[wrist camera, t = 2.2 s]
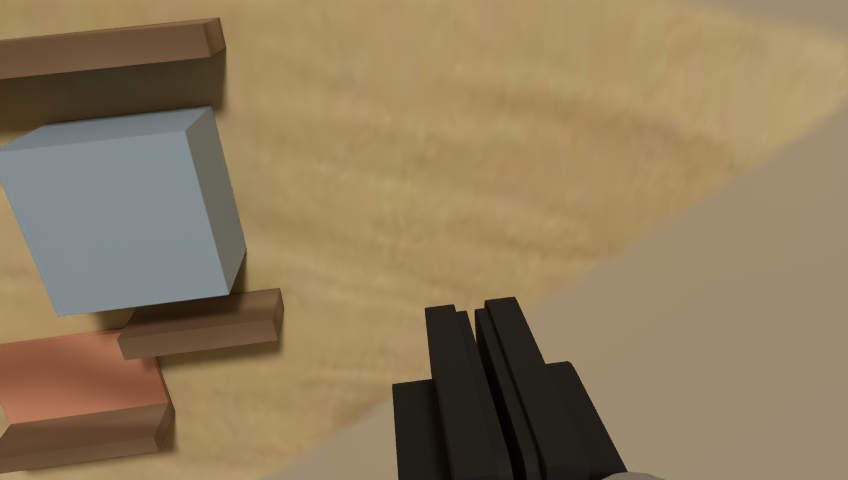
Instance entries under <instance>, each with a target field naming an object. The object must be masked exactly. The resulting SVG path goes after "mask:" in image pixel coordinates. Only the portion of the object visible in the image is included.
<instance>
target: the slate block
mask: <svg viewBox="0 0 848 480" xmlns="http://www.w3.org/2000/svg"><path fill="white" fill-rule="evenodd" d="M0 181H1V184H2V186H3V188H4V191H5V193H6V196H7V198H8V200H9V203H10V205H11V207H12V210H13V212H14V215H15V217H16V219H17V222H18V224H19V226H20V229H21V231H22V233H23V236H24V238H25V241H26V243H27V245H28V248H29V250H30V252H31V255H32V257H33V260H34V262H35V264H36V267H37V269H38V271H39V274H40V276H41V278H42V281H43V283H44V286H45V288H46V290H47V293H48V295H49V297H50V300H51V302H52V305H53V307H54V309H55V312H56V314H57V316H58V317H60V316H67V315H75V314H83V313H91V312H98V311H106V310H114V309H122V308H129V307H137V306H145V305H153V304H160V303H168V302H176V301H183V300H191V299H199V298H207V297H214V296H222V295H229V293H230V291H231V288H232V285H233V283H234V280H235V278H236V275H237V273H238V270H239V267H240V265H241V262H242V260H243V257H244V255H245V252H246V250H247V248H246V243H245V239H244V235H243V231H242V227H241V223H240V219H239V215H238V211H237V207H236V203H235V199H234V194H233V190H232V186H231V182H230V178H229V174H228V170H227V166H226V162H225V158H224V154H223V150H222V146H221V141H220V137H219V133H218V129H217V125H216V121H215V117H214V113H213V109H212V105H209V106H200V107H191V108H182V109H173V110H164V111H156V112H147V113H138V114H129V115H120V116H111V117H102V118H93V119H84V120H75V121H66V122H57V123H48V124H45V125H43V126H41V127H39V128H38V129H36V130H34V131H32V132H30V133H28V134H26V135H24V136H22V137H20V138H18V139H16V140H14V141H12V142H10V143H8V144H6V145H4V146H2V147H0Z"/></svg>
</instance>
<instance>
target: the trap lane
mask: <svg viewBox="0 0 848 480" xmlns="http://www.w3.org/2000/svg"><path fill="white" fill-rule="evenodd" d="M224 48H226V45H225V40H224V36H223V31H222V27H221V22H220V18H212V19H202V20H192V21H182V22H172V23H163V24H153V25H143V26H133V27H124V28H114V29H104V30H94V31H84V32H75V33H65V34H55V35H45V36H36V37H26V38H16V39H6V40H0V79H6V78H15V77H25V76H34V75H44V74H53V73H63V72H72V71H82V70H91V69H101V68H110V67H119V66H129V65H138V64H148V63H157V62H167V61H176V60H186V59H195V58H205V57H211V56H213V55H214V54H216V53H217V52H219V51H221V50H222V49H224ZM283 311H284V305H283V300H282V296H281V291H280V288H276V289H268V290H261V291H253V292H245V293H237V294H229V295H222V296H214V297H207V298H199V299H191V300H183V301H176V302H168V303H160V304H153V305H145V306H138V307H137V309H136V311H135V312H134V314H133V315H132V317H131V318H130V320H129V321H128V323H127V325H126V326H125V328H124V329H116V330H108V331H101V332H93V333H85V334H77V335H70V336H62V337H54V338H47V339H39V340H31V341H23V342H16V343H8V344H0V403H1V405H2V407H3V409H4V411H5V413H6V415H7V417H8V419H9V421H10V423H11V425H10V426H9V427H8V429H7V430H6V431H5V433H4V434H3V435H2V437H1V438H0V474H1V473H8V472H15V471H22V470H29V469H37V468H44V467H51V466H58V465H65V464H72V463H79V462H86V461H93V460H100V459H108V458H115V457H122V456H129V455H136V454H143V453H150V452H157V451H159V449H160V447H161V445H162V442H163V440H164V437H165V435H166V432H167V430H168V428H169V425H170V423H171V420H172V418H173V415H174V413H175V410H174V407H173V405H172V402H171V399H170V396H169V393H168V390H167V387H166V384H165V381H164V379H163V376H162V373H161V370H160V367H159V364H158V361H157V358H156V356H163V355H170V354H178V353H185V352H193V351H200V350H208V349H216V348H223V347H231V346H238V345H246V344H253V343H261V342H269V341H276V340H277V339H278V334H279V330H280V325H281V320H282V316H283Z"/></svg>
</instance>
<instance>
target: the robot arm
mask: <svg viewBox="0 0 848 480" xmlns="http://www.w3.org/2000/svg"><path fill="white" fill-rule="evenodd" d="M425 317H426V327H427V336H428V346H429V356H430V365H431V375H432V379H429V380H420V381H413V382H405V383H397V384H392V390H393V404H394V405H393V406H394V419H395V420H394V421H395V434H396V449H397V465H398V480H664V479H662V478H659V477H655V476H653V475H650V474H646V473H637V472H628V471H627V469H626V467H625V465H624V463H623V461H622V460H621V458H620V456H619V454H618V452H617V450H616V448H615V446H614V444H613V442H612V440H611V438H610V436H609V434H608V432H607V431H606V429H605V427H604V425H603V423H602V421H601V419H600V417H599V415H598V413H597V411H596V409H595V407H594V405H593V403H592V401H591V400H590V398H589V396H588V394H587V392H586V390H585V388H584V386H583V384H582V382H581V380H580V378H579V376H578V374H577V372H576V370H575V369H574V367H573V366H572V364H571V363H570V362H568V361H566V362H558V363H550V364H545V362H544V360H543V358H542V355H541V353H540V351H539V349H538V346H537V344H536V342H535V340H534V337H533V335H532V333H531V331H530V328H529V326H528V324H527V322H526V319H525V317H524V315H523V313H522V311H521V308H520V306H519V304H518V302H517V300H516V298H515V297H507V298H499V299H491V300H485V304H484V308H482V309H475V330H476V341H475V338H474V334H473V331H472V328H471V324H470V321H469V317H468V314H467V311H458V312H456V310H455V306H454V304H452V305H444V306H436V307H428V308H425Z"/></svg>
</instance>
